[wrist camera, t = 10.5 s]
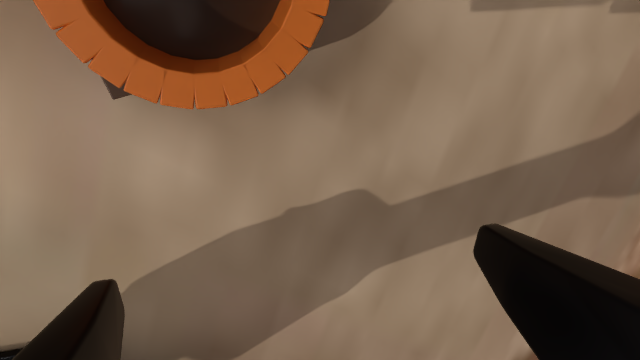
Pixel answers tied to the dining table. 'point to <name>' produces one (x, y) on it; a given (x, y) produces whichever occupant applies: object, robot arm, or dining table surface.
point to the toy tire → (182, 73)
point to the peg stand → (192, 26)
